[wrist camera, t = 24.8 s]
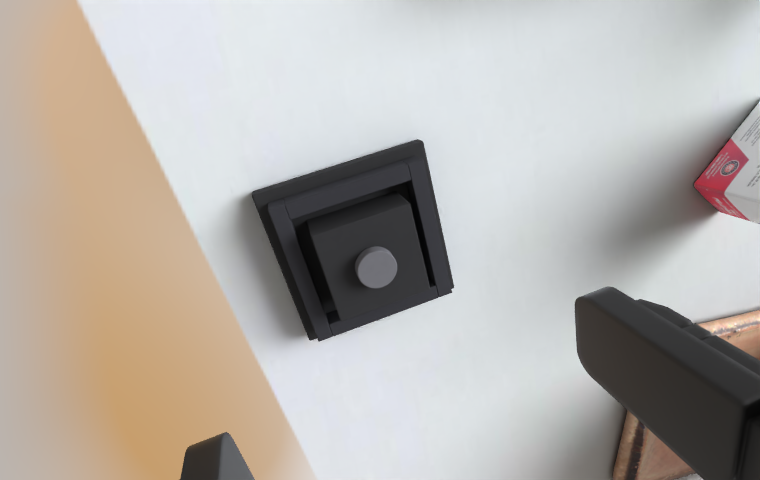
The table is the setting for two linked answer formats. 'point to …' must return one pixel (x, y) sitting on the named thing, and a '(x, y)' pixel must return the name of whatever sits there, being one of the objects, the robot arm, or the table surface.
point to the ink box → (736, 173)
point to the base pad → (339, 190)
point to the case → (644, 449)
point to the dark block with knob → (369, 254)
